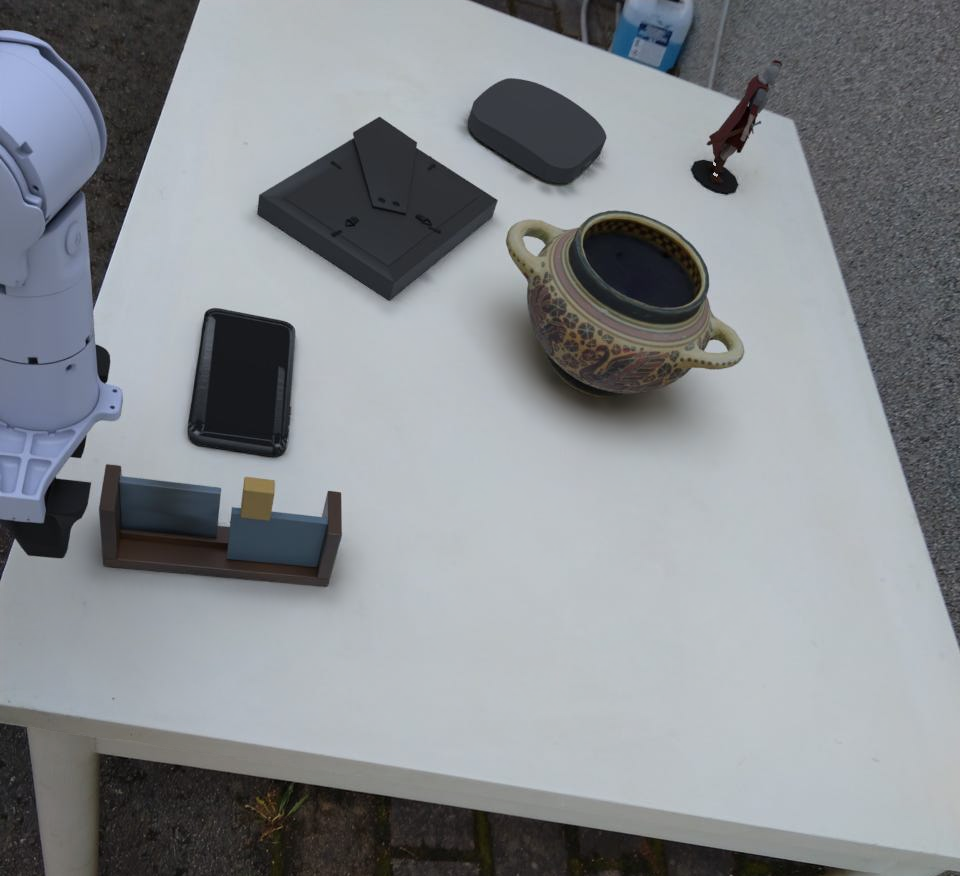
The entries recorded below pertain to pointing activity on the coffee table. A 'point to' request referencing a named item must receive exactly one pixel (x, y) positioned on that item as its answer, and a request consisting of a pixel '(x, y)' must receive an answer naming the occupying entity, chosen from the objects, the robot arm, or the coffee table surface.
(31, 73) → the robot arm
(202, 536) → the window frame
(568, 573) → the coffee table surface
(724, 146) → the figurine
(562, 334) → the ceramic bowl
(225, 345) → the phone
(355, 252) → the picture frame
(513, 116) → the media streaming box
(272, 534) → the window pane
